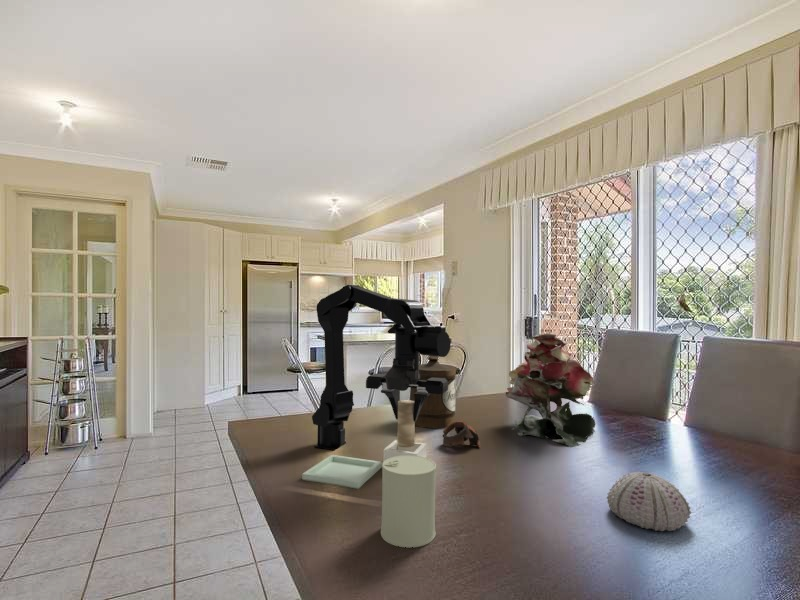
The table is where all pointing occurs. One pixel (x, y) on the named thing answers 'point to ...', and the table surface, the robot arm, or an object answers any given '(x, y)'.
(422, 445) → the white square tube
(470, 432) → the brown rounded hollow piece
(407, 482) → the can
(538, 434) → the rose bouquet
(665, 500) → the sea urchin shell
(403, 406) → the dowel
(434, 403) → the wooden container
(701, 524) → the table surface
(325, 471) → the tray
